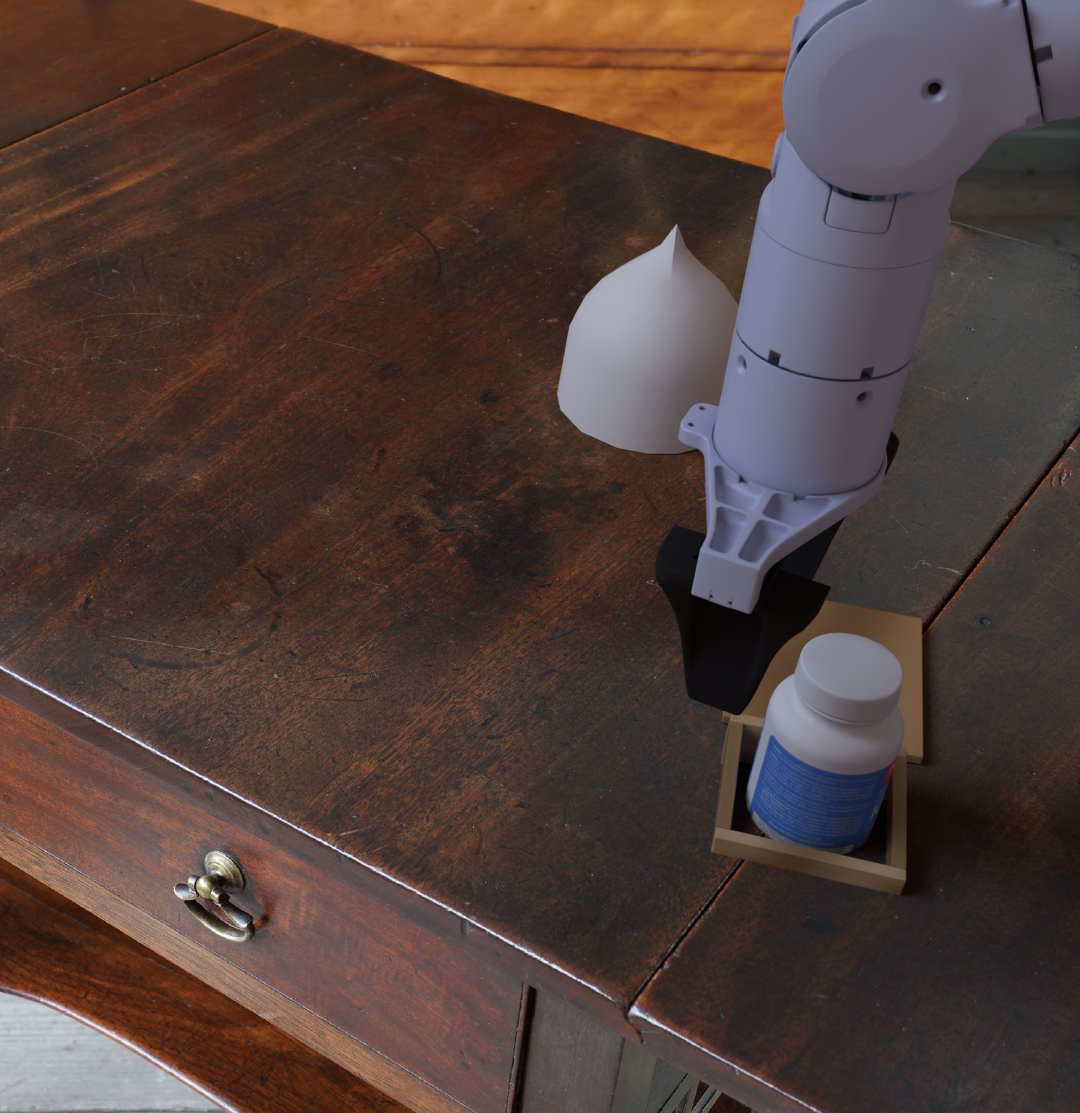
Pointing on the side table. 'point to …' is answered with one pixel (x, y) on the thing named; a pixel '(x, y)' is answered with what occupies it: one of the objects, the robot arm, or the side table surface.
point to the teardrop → (647, 350)
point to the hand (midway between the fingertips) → (748, 640)
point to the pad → (873, 624)
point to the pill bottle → (828, 745)
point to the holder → (799, 858)
